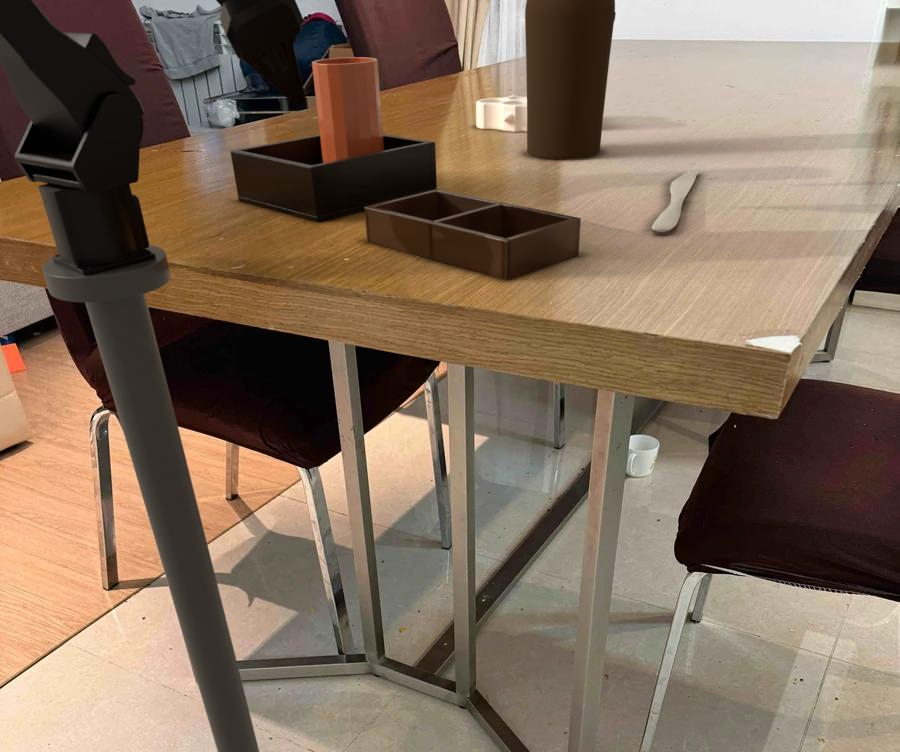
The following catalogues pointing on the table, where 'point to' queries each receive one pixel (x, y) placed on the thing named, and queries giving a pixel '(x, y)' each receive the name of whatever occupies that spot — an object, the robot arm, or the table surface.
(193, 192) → the table surface
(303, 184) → the black open box
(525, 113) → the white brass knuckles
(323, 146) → the cup
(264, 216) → the table surface
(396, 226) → the brown divided tray
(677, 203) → the butter knife
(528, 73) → the dark brown cylinder
